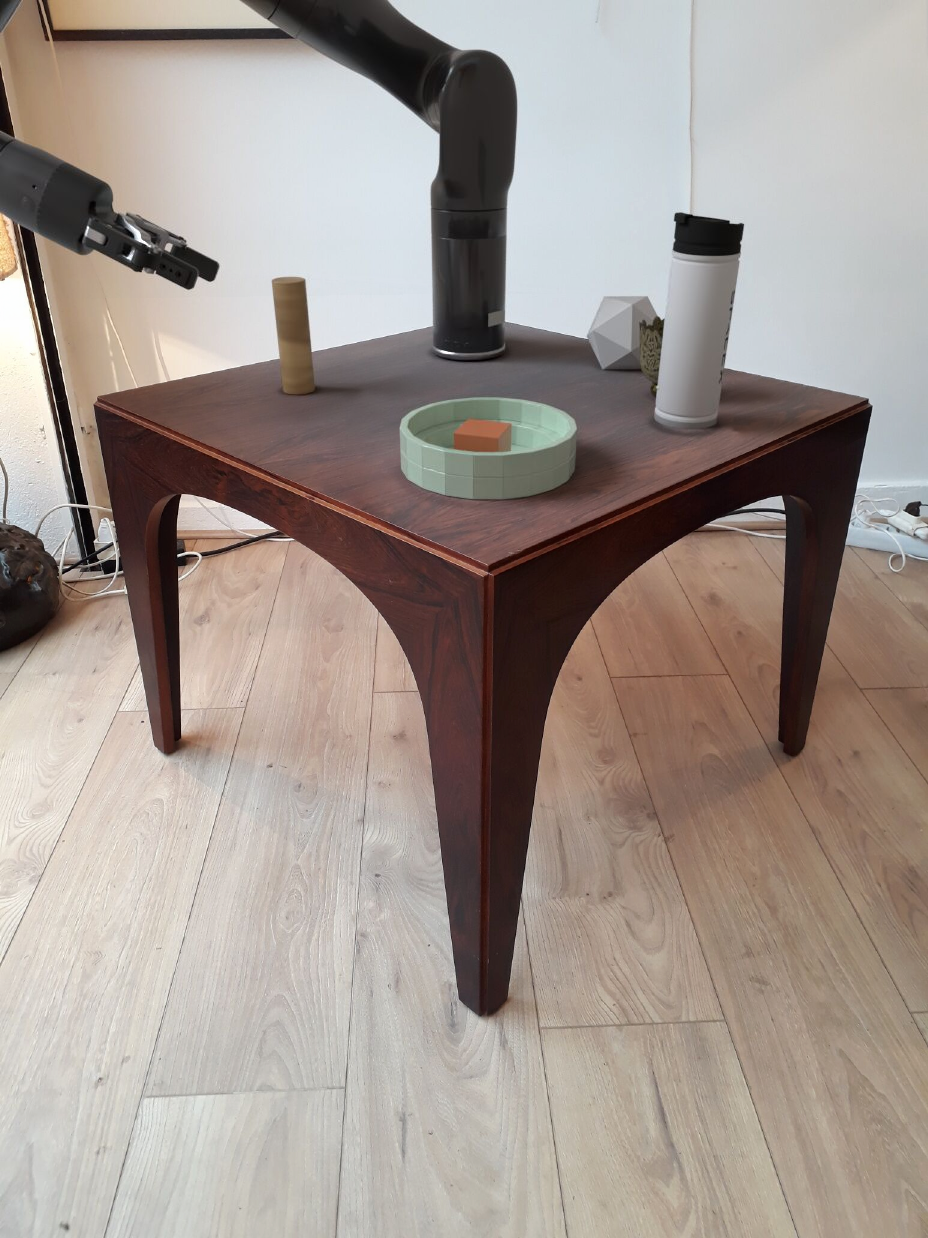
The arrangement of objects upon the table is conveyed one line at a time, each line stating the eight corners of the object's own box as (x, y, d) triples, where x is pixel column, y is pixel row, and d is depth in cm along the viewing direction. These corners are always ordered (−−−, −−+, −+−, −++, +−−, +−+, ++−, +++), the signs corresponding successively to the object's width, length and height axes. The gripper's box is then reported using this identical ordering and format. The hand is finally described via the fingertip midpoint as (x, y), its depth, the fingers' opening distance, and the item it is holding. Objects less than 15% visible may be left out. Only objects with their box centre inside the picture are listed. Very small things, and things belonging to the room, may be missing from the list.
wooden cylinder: (292, 384, 106) (281, 275, 99) (320, 387, 104) (311, 277, 98) (277, 392, 103) (265, 281, 96) (305, 395, 102) (295, 283, 95)
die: (640, 386, 107) (687, 310, 106) (576, 344, 106) (623, 268, 105) (626, 391, 116) (669, 321, 114) (567, 353, 115) (610, 282, 113)
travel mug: (639, 418, 95) (660, 209, 84) (693, 411, 97) (720, 206, 86) (671, 437, 90) (697, 217, 79) (728, 429, 92) (760, 214, 81)
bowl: (437, 435, 90) (436, 390, 88) (589, 453, 86) (593, 406, 84) (374, 492, 78) (371, 442, 75) (549, 516, 73) (552, 464, 71)
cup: (667, 410, 97) (676, 334, 93) (618, 394, 102) (625, 321, 98) (714, 398, 101) (725, 324, 97) (664, 382, 106) (672, 312, 102)
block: (468, 461, 83) (468, 418, 80) (510, 466, 81) (511, 423, 79) (453, 476, 79) (453, 432, 77) (497, 482, 78) (498, 437, 76)
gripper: (32, 158, 82) (202, 245, 86) (89, 162, 95) (235, 238, 99) (10, 238, 85) (175, 319, 89) (68, 231, 98) (210, 303, 101)
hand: (206, 276), depth 94 cm, fingers open, 8 cm apart
